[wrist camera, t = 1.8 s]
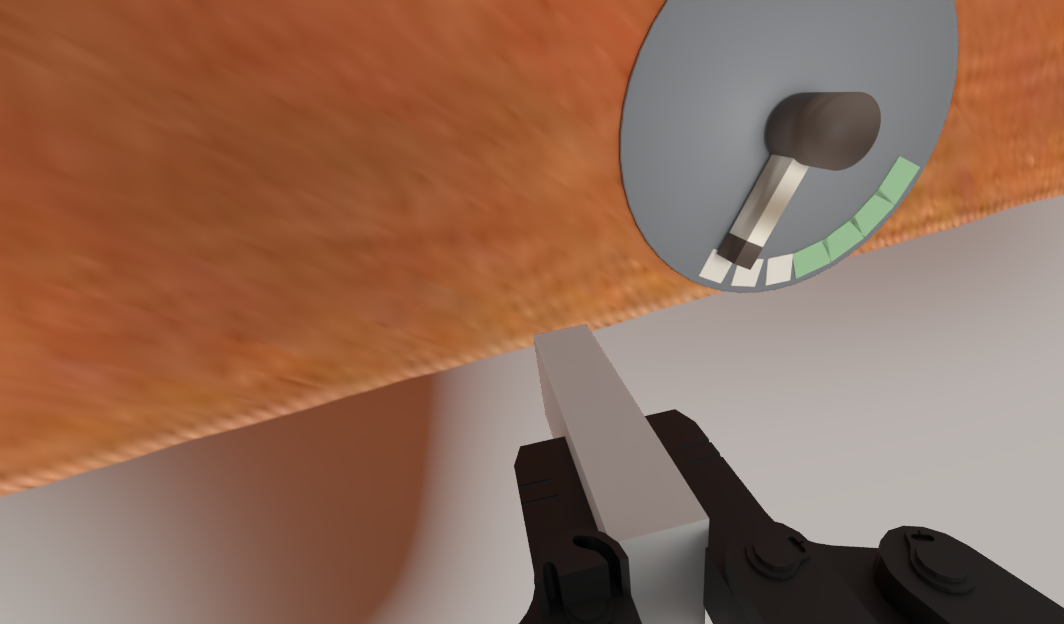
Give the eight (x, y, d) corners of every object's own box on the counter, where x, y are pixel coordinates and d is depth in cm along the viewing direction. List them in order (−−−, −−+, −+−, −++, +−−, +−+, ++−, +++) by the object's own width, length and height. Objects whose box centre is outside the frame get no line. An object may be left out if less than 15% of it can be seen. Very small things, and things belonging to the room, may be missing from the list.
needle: (789, 81, 34) (842, 78, 29) (837, 108, 35) (895, 109, 31) (701, 248, 38) (735, 268, 34) (747, 265, 40) (785, 286, 35)
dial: (545, 97, 32) (547, 97, 32) (896, -217, 28) (905, -223, 28) (719, 346, 44) (722, 349, 44) (982, 151, 40) (990, 152, 40)
